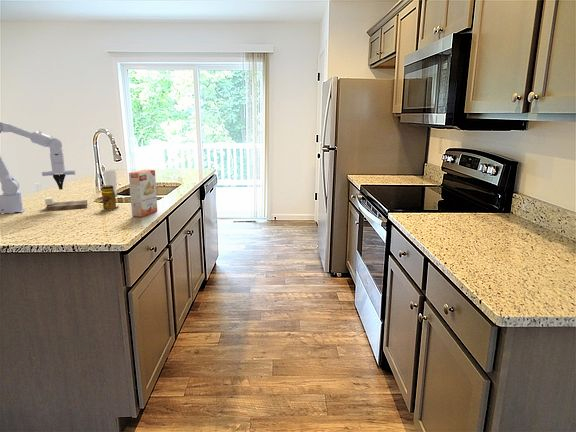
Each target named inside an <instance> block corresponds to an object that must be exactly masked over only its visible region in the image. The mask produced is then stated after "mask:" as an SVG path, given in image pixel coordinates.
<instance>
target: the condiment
mask: <svg viewBox="0 0 576 432" xmlns="http://www.w3.org/2000/svg"><path fill="white" fill-rule="evenodd" d="M101 198H102V209H101V211H102V212H103V211H116V210H117V211H118V210H119V207H120V206H119V205H118V206H117V203H116V202H117V201H116V195H115V192H114V189H113V186H111V185H108V186H106V185H102V187H101ZM116 206H117V207H116Z"/></svg>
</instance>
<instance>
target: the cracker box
mask: <svg viewBox="0 0 576 432" xmlns="http://www.w3.org/2000/svg"><path fill="white" fill-rule="evenodd" d="M128 179H129V192H130V206H131V216H132V217H138V218H144V217H146V216H147V215H151V214H152V213H156V212H157V211H158V202H157V187H156V186H157V184H156V183H157V182H156V179H157V178H156V170H155V169H142V170H137V171H132V172H128Z"/></svg>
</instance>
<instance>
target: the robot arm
mask: <svg viewBox="0 0 576 432" xmlns="http://www.w3.org/2000/svg"><path fill="white" fill-rule="evenodd" d="M1 133H12V134H15V135H18V136H22V137H24V138H28V139H30V142H31V143H34V144H35V145H36V144H37V145H39V146H42V147H44V148H48V149H49V151H50V153H49V158H50V166H51V171H49V170H48V171H41V175H42V177H47V176H49V177H50V176H52V178H53V179H54V181H55V182H56V184H57V186H58V190H59V191H60V190H63V189H64V188H63V187H64V181H65V177H66V176H69V175H70V176H71V175H74V176H75V175H76V171H75V170H66V168H65V167H66V166H65V160H64V159H65V158H64V153H63V144H62V141H61V140H60V139H58V138H57V137H54V136H53V135H48V134H45V133H43V131H40V130H39V131H33V132H32V131H29V130H27V129H24V128H21V127H19V126H17V125H14V124H12V123H7V122H5V121H0V134H1ZM0 184H1V191H2V194H0V213H9V214H15V213H14V212H22V213H24V212H25V210H23V209H24V206H23V200H22V193H21V192H20V190H19V189H20V183H19V182H18V180H16V179H15V178H14V176H13V175H12V174H11V172H10V171H9V168H8V166H7V164H6V162H5V161H4V159H3V157H2V155H1V154H0ZM23 211H24V212H23Z"/></svg>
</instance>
